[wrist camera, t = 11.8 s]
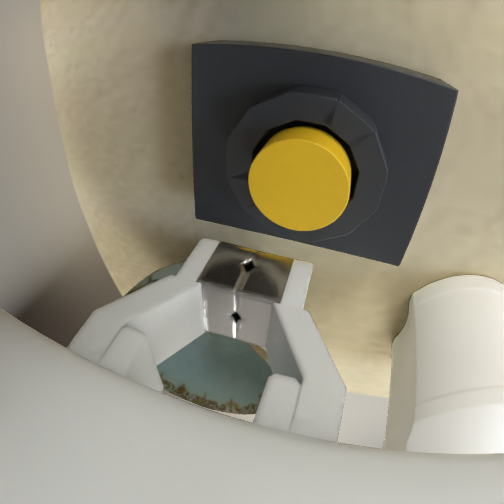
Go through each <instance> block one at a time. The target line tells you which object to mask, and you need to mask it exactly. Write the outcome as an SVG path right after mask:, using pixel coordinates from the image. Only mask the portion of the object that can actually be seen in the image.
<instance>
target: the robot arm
mask: <svg viewBox="0 0 504 504" xmlns="http://www.w3.org/2000/svg"><path fill="white" fill-rule="evenodd" d="M312 270H313V263H311V262H307V261H302V260H297V259H291V258H287V257H282V256H278V255H273V254H269V253H265V252H260V251H256V250H252V249H248V248H245V247H241V246H237V245H233V244H229V243H225V242H220V241H216V240H212V239H208V238H203V239H201V240H200V241H199V242H198V244H197V245H196V247H195V248H194V250H193V251H192V253H191V254H190V255H189V257H188V258H187V260H186V261H185V263H184V264H183V266H182V267H181V269H180V270H179V272H178V273H177V275H176V276H173V275H169V276H167V277H165V278H163V279H160V280H158V281H156V282H154V283H152V284H150V285H147V286H145V287H143V288H141V289H139V290H137V291H135V292H133V293H130V294H128V295H126V296H124V297H122V298H120V299H118V300H115V301H113V302H111V303H109V304H107V305H105V306H103V307H101V308H99V309H97V310H94V312H93V313H92V314H91V316H90V317H89V318H88V320H87V321H86V322H85V324H84V325H83V326H82V328H81V329H80V331H79V332H78V333H77V335H76V336H75V337H74V339H73V340H72V342H71V343H70V344H69V346H68V347H67V348H65V347H63V346H61V345H60V344H58V343H56V342H54V341H52V340H51V339H49V338H47V337H45V336H44V335H42V334H40V333H39V332H37V331H35V330H34V329H32V328H30V327H29V326H27V325H25V324H24V323H22V322H21V321H19V320H17V319H16V318H14V317H13V316H11V315H10V314H8V313H7V312H5V311H3V310H2V309H0V504H504V453H491V454H443V453H423V452H409V451H398V450H389V449H380V448H371V447H365V446H358V445H351V444H345V443H339V442H337V440H338V435H339V430H340V424H341V419H342V413H343V407H344V401H345V394H346V386H345V384H344V382H343V380H342V378H341V376H340V374H339V372H338V370H337V368H336V366H335V363H334V361H333V359H332V357H331V355H330V353H329V351H328V349H327V347H326V345H325V343H324V341H323V339H322V337H321V335H320V333H319V331H318V329H317V327H316V325H315V322H314V320H313V318H312V316H311V314H310V312H309V311H307V310H303V308H304V304H305V300H306V295H307V291H308V287H309V283H310V278H311V274H312ZM205 331H209V332H213V333H216V334H220V335H224V336H227V337H231V338H236V339H238V340H242V341H245V342H248V343H251V344H255V345H258V346H262V347H265V348H266V353H267V356H268V360H269V363H270V366H271V370H272V373H273V375H272V376H270V377H268V380H267V383H266V386H265V389H264V392H263V394H262V397H261V400H260V403H259V406H258V409H257V412H256V414H255V418H254V420H253V423H251V422H247V421H244V420H240V419H237V418H234V417H230V416H227V415H224V414H221V413H218V412H215V411H212V410H209V409H205V408H203V407H200V406H197V405H194V404H191V403H188V402H186V401H183V400H180V399H178V398H175V397H172V396H170V395H167V394H164V393H162V390H163V388H164V386H163V383H162V381H161V378H160V375H159V372H158V370H157V367H156V366H157V365H158V364H160V363H161V362H163V361H164V360H166V359H167V358H169V357H170V356H172V355H173V354H174V353H176V352H177V351H179V350H180V349H182V348H183V347H185V346H186V345H187V344H189V343H190V342H192V341H193V340H195V339H196V338H197V337H199V336H200V335H202V334H203V333H205Z"/></svg>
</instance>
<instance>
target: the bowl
mask: <svg viewBox="0 0 504 504" xmlns="http://www.w3.org/2000/svg"><path fill="white" fill-rule="evenodd" d="M184 263H185V262H183V263H177V264H173V265H170V266H167V267H164V268H161V269H159V270H157V271H155V272H153V273H152V274H150V275H149V276H147V277H146V278H144V279H143V280H142V281H140V282H139V283H138V284H137V285H136V286H134V287H133V288H132V289H131V290H130V291H129V292H128V293H127V294H126V295H128V294H130V293H133V292H135V291H137V290H139V289H141V288H143V287H145V286H147V285H150V284H152V283H154V282H156V281H158V280H160V279H163V278H165V277H167V276H169V275H173V276H176V275H177V273H178V272H179V270H180V269H181V267H182V266H183V264H184ZM126 295H125V296H126ZM123 297H124V296H123ZM156 367H157V370H158V372H159V375H160V378H161V381H162V383H163V386H164V388H163V389H165V390H166V391H168V392H170V393H172V394H173V395H176V396H178V397H180V398H183V399H185V400H187V401H190V402H192V403H195V404H197V405H200V406H202V407H206V408H209V409H213V410H217V411H222V412H228V413H234V414H256V412H257V409H258V406H259V403H260V400H261V397H262V394H263V392H264V389H265V386H266V383H267V380H268V377H270V376H272V375H273V373H272V370H271V366H270V363H269V360H268V356H267V353H266V348H265V347H262V346H258V345H255V344H251V343H248V342H245V341H242V340H238V339H236V338H231V337H227V336H224V335H220V334H216V333H213V332H209V331H205V333H203V334H202V335H200V336H199V337H197V338H196V339H195V340H193V341H192V342H190V343H189V344H187V345H186V346H185V347H183V348H182V349H180V350H179V351H177V352H176V353H174V354H173V355H172V356H170V357H169V358H167V359H166V360H164V361H163V362H161V363H160V364H158V365H157V366H156Z"/></svg>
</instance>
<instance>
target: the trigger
mask: <svg viewBox="0 0 504 504" xmlns="http://www.w3.org/2000/svg"><path fill="white" fill-rule="evenodd" d="M248 185H249V190H250V194H251V197H252V199H253V201H254V203H255V204H256V206H257V207H258V209H259V210H260V211H261V212H262V213H263V214H264V215H265V216H266V217H267V218H268V219H270V220H271V221H273V222H274V223H276V224H278V225H280V226H282V227H285V228H288V229H291V230H297V231H311V230H317V229H320V228H323V227H325V226H327V225H329V224H331V223H332V222H334V221H335V220H336V219H337V218H338V217H339V216H340V215H341V214H342V213H343V211H344V210H345V208H346V206H347V203H348V200H349V195H350V186H351V164H350V160H349V157H348V155H347V153H346V151H345V150H344V148H343V147H342V145H341V144H340V143H339V142H338V141H337V140H336V139H335V138H334V137H332V136H331V135H330V134H328V133H326V132H324V131H322V130H319V129H317V128H313V127H307V126H296V127H290V128H287V129H284V130H282V131H280V132H278V133H276V134H275V135H274V136H273V137H271V138H270V139H269V141H268V142H267V143H266V144H265V145H264V147H263V148H262V149H261V151H260V152H259V153H258V154H257V156H256V157H255V159H254V160H253V162H252V164H251V167H250V170H249V176H248Z"/></svg>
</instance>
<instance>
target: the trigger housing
mask: <svg viewBox="0 0 504 504" xmlns="http://www.w3.org/2000/svg"><path fill="white" fill-rule="evenodd" d="M457 94H458V90H457V89H455V88H454V87H452V86H450V85H449V84H447V83H446V82H444V81H442V80H440V79H437V78H434V77H432V76H428V75H425V74H422V73H419V72H416V71H412V70H409V69H406V68H402V67H399V66H395V65H391V64H387V63H384V62H380V61H375V60H371V59H367V58H362V57H358V56H353V55H348V54H343V53H338V52H332V51H326V50H320V49H314V48H307V47H300V46H292V45H283V44H273V43H261V42H246V41H221V40H218V41H210V42H203V43H196V44H193V45H192V141H193V173H194V196H195V216H196V219H200V220H205V221H209V222H214V223H218V224H223V225H227V226H232V227H236V228H241V229H245V230H250V231H254V232H258V233H263V234H267V235H271V236H276V237H280V238H284V239H289V240H293V241H297V242H301V243H306V244H310V245H314V246H318V247H322V248H327V249H331V250H335V251H339V252H343V253H347V254H351V255H356V256H360V257H364V258H368V259H372V260H376V261H380V262H384V263H388V264H392V265H396V266H399V265H400V263H401V261H402V259H403V256H404V254H405V252H406V249H407V247H408V245H409V242H410V240H411V237H412V235H413V233H414V230H415V228H416V225H417V222H418V220H419V217H420V215H421V212H422V209H423V207H424V204H425V201H426V199H427V196H428V193H429V190H430V187H431V184H432V181H433V179H434V176H435V173H436V170H437V166H438V163H439V160H440V157H441V154H442V150H443V147H444V144H445V140H446V137H447V133H448V130H449V126H450V122H451V119H452V115H453V111H454V107H455V103H456V99H457ZM296 126H307V127H313V128H317V129H319V130H322V131H324V132H326V133H328V134H330V135H331V136H332V137H334V138H335V139H336V140H337V141H338V142H339V143H340V144H341V145H342V147H343V148H344V150H345V151H346V153H347V155H348V157H349V160H350V164H351V186H350V195H349V200H348V203H347V206H346V208H345V210H344V211H343V213H342V214H341V215H340V216H339V217H338V218H337V219H336V220H335V221H334V222H332V223H331V224H329V225H327V226H325V227H323V228H320V229H317V230H311V231H297V230H291V229H288V228H285V227H282V226H280V225H278V224H276V223H274V222H273V221H271V220H270V219H268V218H267V217H266V216H265V215H264V214H263V213H262V212H261V211H260V210H259V209H258V207H257V206H256V204H255V203H254V201H253V199H252V197H251V194H250V190H249V185H248V176H249V170H250V167H251V164H252V162H253V160H254V159H255V157H256V156H257V154H258V153H259V152H260V151H261V149H262V148H263V147H264V145H265V144H266V143H267V142H268V141H269V139H270V138H271V137H273V136H274V135H275V134H276V133H278V132H280V131H282V130H284V129H287V128H290V127H296Z"/></svg>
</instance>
